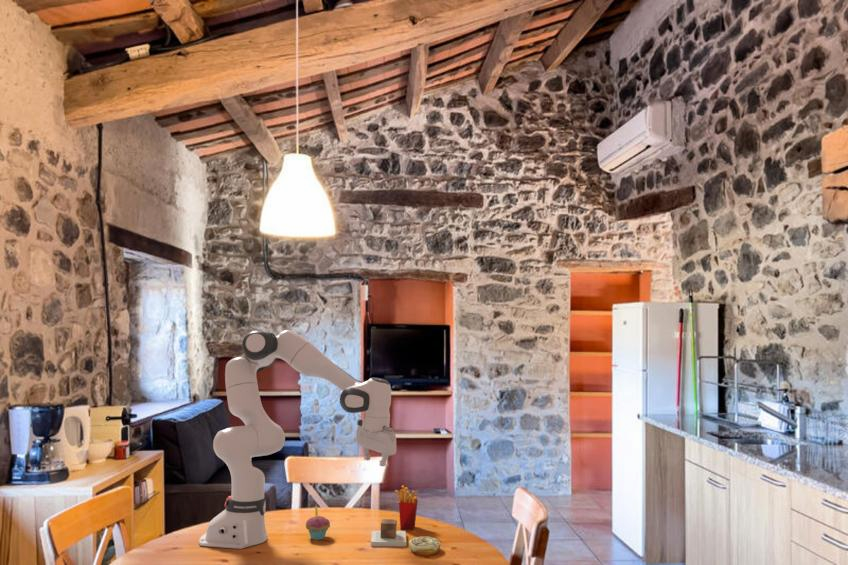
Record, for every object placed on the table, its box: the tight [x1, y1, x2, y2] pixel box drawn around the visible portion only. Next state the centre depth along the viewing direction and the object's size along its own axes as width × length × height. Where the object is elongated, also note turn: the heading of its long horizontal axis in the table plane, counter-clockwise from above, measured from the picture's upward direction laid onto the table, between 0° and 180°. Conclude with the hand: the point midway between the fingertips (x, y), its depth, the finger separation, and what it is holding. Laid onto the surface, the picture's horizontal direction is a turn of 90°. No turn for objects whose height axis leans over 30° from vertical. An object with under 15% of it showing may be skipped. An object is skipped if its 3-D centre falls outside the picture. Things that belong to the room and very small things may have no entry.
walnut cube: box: [380, 518, 398, 539], centre depth 229 cm, size 5×5×5 cm
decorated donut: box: [408, 536, 441, 557], centre depth 219 cm, size 10×11×4 cm
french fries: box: [394, 485, 419, 531], centre depth 243 cm, size 9×8×15 cm
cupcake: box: [305, 504, 331, 541], centre depth 230 cm, size 9×8×12 cm
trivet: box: [370, 530, 407, 547], centre depth 228 cm, size 12×12×2 cm
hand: (374, 462), depth 234 cm, fingers open, 8 cm apart
